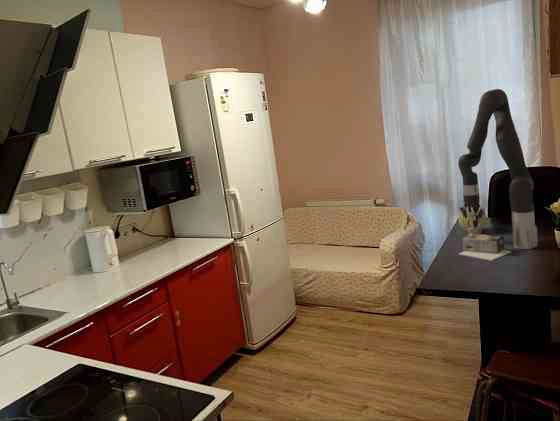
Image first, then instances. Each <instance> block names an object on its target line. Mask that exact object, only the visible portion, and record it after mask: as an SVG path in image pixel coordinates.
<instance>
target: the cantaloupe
mask: <svg viewBox="0 0 560 421" xmlns="http://www.w3.org/2000/svg"><path fill="white" fill-rule="evenodd" d="M466 211H467V210H466ZM485 211H486V210H485ZM485 211H484V213H483V215H482V217H481V218H480V219H478V224H480V227H481V231H482V230H483V229H484V228H486V225H487V222H488V217H487V213H486V212H485ZM478 213H479V210H478ZM458 222H459V226H460V227H461V229H463V230H465V231H466V232H467V229H468V228H470V226H469V224H468V219H467V218H465V217H464V216H463V214H462V212H461V211H460V212H459V214H458Z"/></svg>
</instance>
